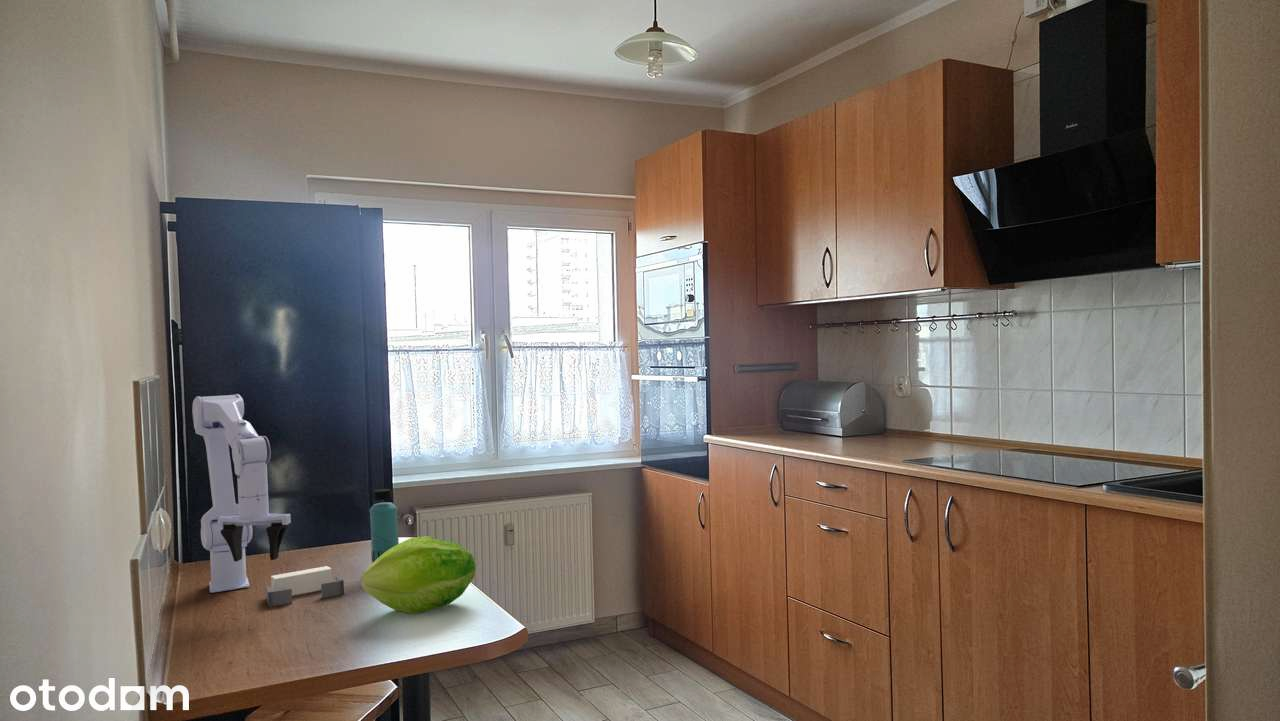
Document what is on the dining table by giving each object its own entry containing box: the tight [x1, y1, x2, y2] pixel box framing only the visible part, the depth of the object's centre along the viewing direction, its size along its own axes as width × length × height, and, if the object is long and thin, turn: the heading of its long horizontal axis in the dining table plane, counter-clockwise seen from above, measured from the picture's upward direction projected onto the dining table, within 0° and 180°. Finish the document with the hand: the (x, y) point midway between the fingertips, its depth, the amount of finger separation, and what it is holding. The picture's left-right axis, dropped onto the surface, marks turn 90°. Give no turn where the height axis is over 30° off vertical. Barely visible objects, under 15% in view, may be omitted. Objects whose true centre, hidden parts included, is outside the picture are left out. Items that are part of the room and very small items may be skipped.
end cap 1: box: [265, 585, 293, 608], centre depth 177 cm, size 6×4×3 cm
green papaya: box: [360, 535, 477, 614], centre depth 167 cm, size 15×23×16 cm
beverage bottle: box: [369, 488, 400, 564], centre depth 197 cm, size 6×7×20 cm
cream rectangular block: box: [270, 565, 333, 597], centre depth 184 cm, size 4×12×4 cm, turn 126°
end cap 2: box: [320, 574, 345, 599], centre depth 182 cm, size 6×4×3 cm
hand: (256, 559), depth 175 cm, fingers open, 7 cm apart
